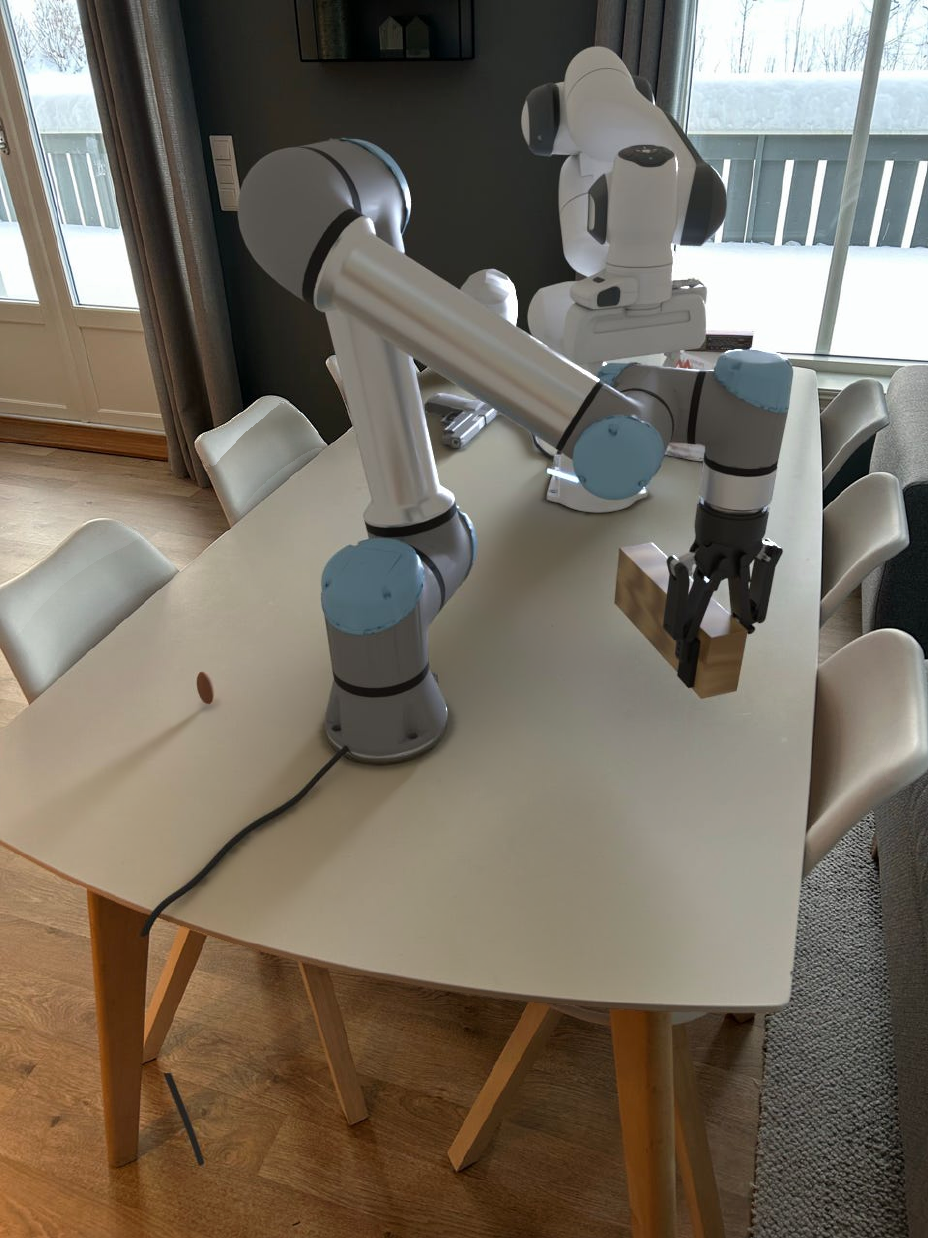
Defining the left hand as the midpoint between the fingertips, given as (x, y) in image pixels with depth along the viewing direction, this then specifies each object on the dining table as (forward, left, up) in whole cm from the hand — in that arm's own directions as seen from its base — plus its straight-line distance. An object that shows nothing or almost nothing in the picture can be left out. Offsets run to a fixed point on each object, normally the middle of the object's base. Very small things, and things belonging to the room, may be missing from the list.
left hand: (705, 676), depth 109 cm
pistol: (+99, +54, -6) cm, 113 cm away
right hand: (+34, +12, +24) cm, 44 cm away
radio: (+139, -5, -6) cm, 139 cm away
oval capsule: (-7, +63, -6) cm, 64 cm away
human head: (+148, +54, -6) cm, 158 cm away
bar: (+7, +4, 0) cm, 8 cm away
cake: (+96, -2, -6) cm, 96 cm away
